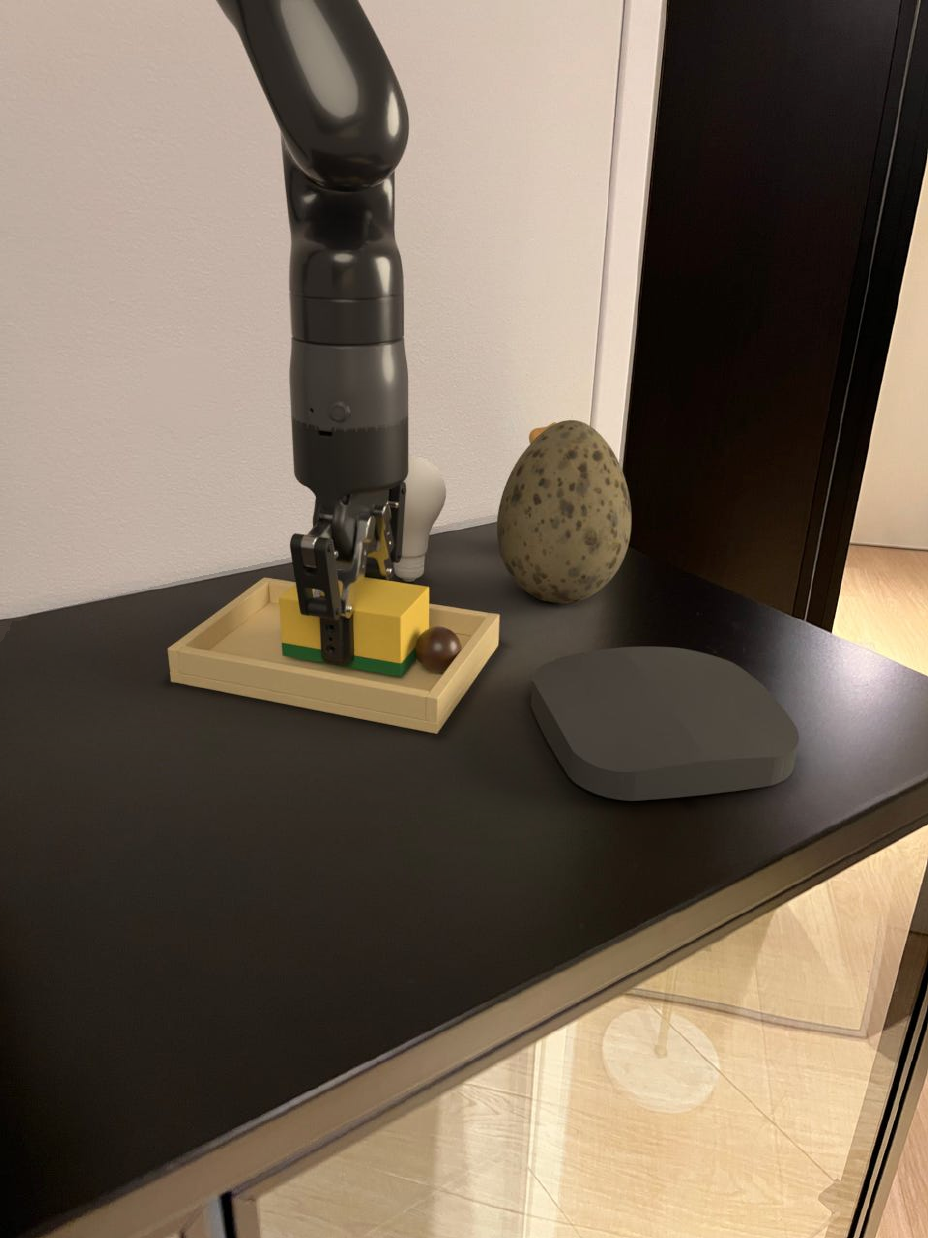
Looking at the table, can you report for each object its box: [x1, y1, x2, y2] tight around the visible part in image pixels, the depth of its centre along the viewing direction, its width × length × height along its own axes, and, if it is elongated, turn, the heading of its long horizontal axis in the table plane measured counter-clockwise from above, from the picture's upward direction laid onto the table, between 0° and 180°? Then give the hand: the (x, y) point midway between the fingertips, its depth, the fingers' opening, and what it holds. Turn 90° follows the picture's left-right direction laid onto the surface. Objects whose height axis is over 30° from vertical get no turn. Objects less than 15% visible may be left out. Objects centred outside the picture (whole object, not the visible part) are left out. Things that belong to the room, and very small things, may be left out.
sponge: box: [279, 577, 430, 677], centre depth 72 cm, size 9×6×4 cm, turn 72°
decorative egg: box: [496, 419, 632, 605], centre depth 82 cm, size 11×11×15 cm
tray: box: [167, 577, 500, 735], centre depth 73 cm, size 20×14×3 cm
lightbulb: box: [393, 454, 447, 583], centre depth 85 cm, size 6×6×11 cm
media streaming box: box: [530, 646, 800, 802], centre depth 65 cm, size 15×15×3 cm
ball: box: [415, 627, 461, 673], centre depth 70 cm, size 3×3×3 cm
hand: (355, 643), depth 72 cm, fingers closed on sponge, 5 cm apart
